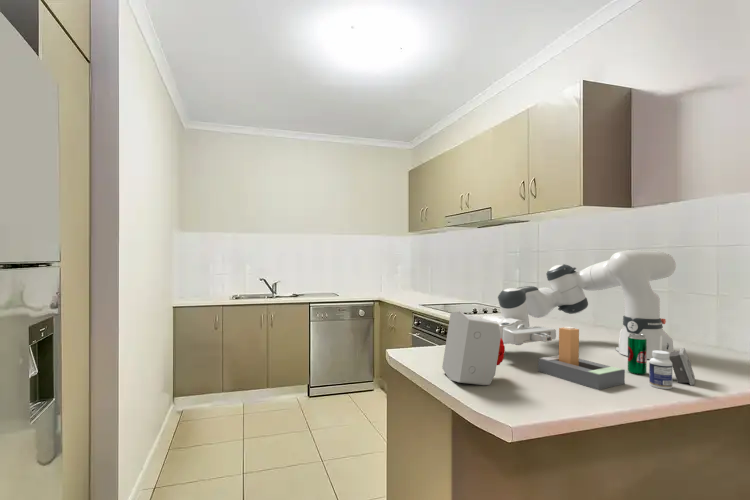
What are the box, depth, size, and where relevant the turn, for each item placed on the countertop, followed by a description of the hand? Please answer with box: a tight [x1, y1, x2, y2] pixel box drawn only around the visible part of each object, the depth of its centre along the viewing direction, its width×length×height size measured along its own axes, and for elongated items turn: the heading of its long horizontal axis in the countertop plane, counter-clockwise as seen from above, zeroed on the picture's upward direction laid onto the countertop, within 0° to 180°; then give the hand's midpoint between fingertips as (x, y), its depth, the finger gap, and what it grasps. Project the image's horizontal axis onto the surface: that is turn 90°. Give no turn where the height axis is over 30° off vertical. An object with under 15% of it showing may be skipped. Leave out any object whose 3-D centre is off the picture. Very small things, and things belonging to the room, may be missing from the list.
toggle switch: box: [537, 354, 626, 391], centre depth 126 cm, size 12×20×4 cm, turn 29°
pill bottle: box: [648, 350, 673, 390], centre depth 118 cm, size 5×5×10 cm
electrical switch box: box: [441, 310, 506, 386], centre depth 123 cm, size 15×15×20 cm
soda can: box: [627, 334, 648, 376], centre depth 131 cm, size 5×5×12 cm
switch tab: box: [558, 326, 580, 366], centre depth 129 cm, size 4×4×13 cm
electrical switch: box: [669, 347, 696, 386], centre depth 124 cm, size 9×5×9 cm, turn 141°
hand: (549, 339), depth 135 cm, fingers closed
